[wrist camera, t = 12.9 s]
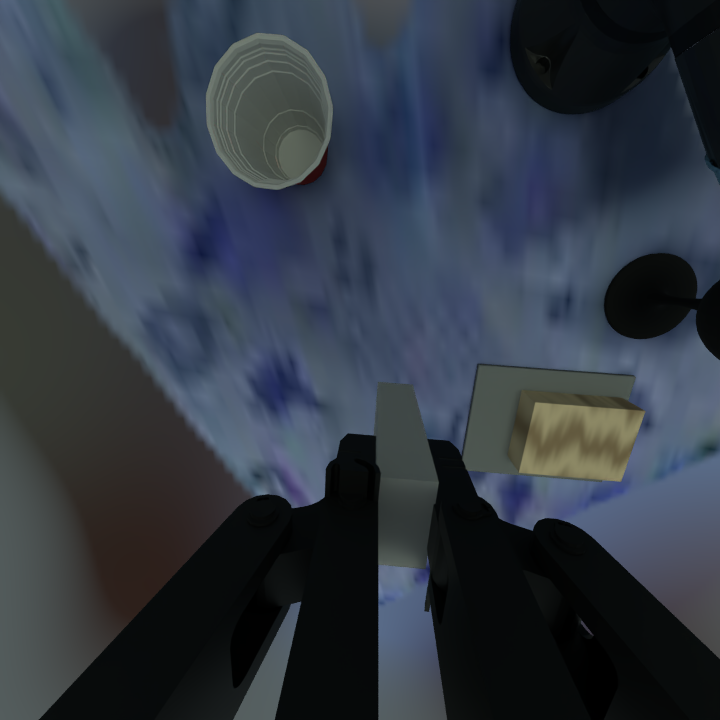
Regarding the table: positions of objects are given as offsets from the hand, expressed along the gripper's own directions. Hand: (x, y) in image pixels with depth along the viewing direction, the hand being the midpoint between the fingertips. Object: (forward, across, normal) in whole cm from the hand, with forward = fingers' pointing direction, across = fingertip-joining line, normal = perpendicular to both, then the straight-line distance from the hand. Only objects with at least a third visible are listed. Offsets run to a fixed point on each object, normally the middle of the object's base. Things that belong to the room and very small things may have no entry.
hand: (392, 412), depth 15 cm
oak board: (+27, +19, -14) cm, 36 cm away
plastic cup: (+30, -11, +17) cm, 36 cm away
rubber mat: (+29, +23, -14) cm, 40 cm away
